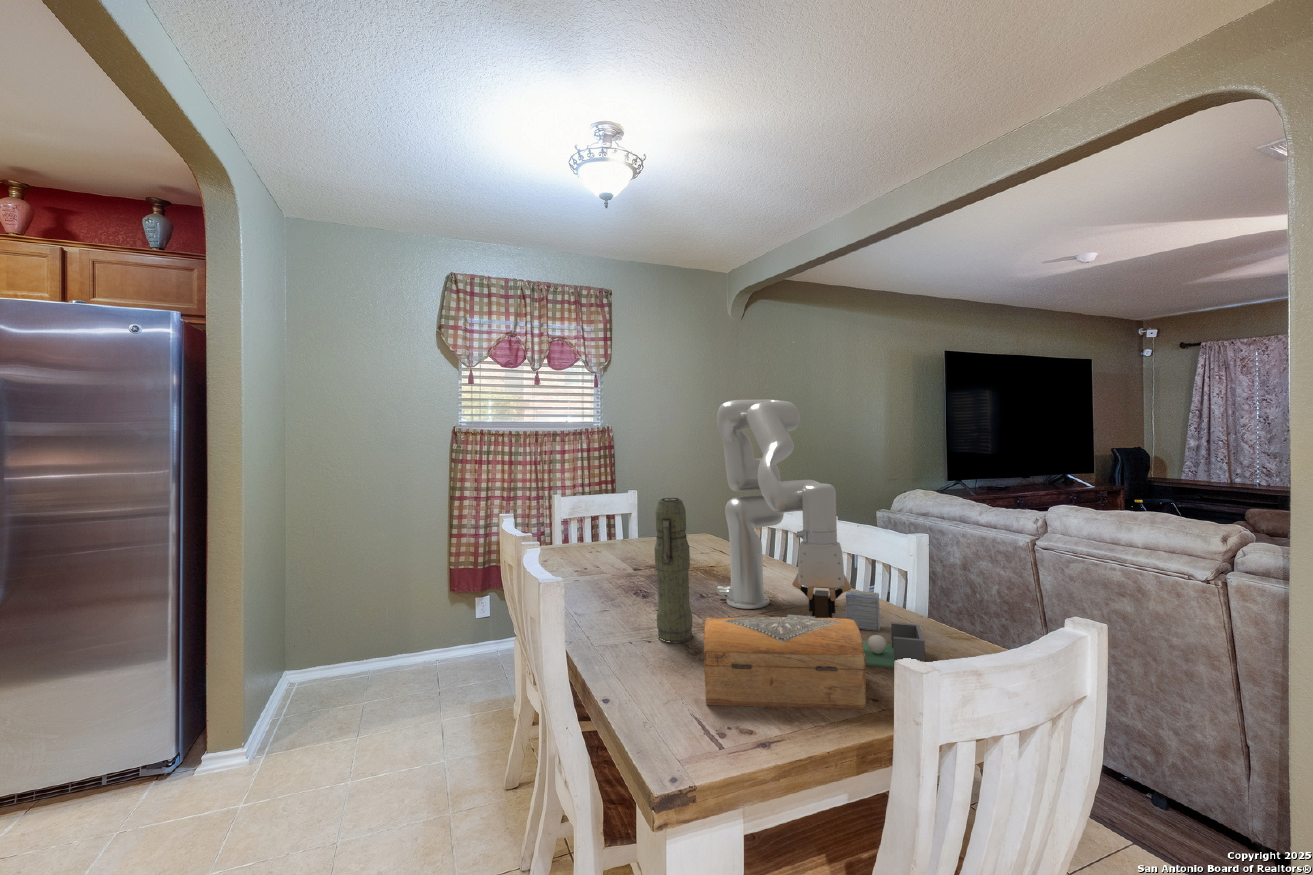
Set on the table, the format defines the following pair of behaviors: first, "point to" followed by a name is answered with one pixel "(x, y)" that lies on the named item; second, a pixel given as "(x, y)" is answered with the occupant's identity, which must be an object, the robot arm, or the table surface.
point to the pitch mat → (879, 656)
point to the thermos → (672, 571)
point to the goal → (907, 641)
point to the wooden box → (784, 662)
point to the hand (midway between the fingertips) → (822, 614)
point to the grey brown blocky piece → (819, 605)
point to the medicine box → (863, 609)
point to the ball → (877, 644)
